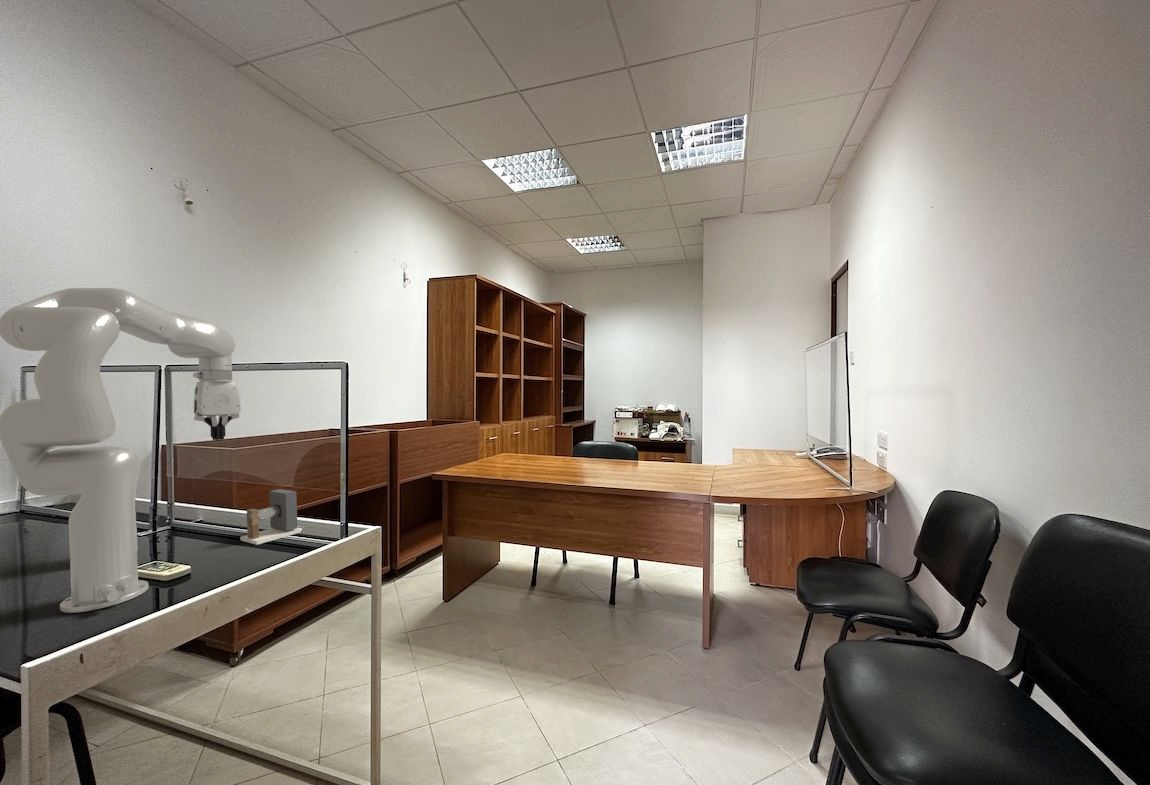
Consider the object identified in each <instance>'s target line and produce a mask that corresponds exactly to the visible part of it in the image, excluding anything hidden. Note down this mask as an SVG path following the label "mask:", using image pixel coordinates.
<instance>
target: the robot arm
mask: <svg viewBox="0 0 1150 785" xmlns="http://www.w3.org/2000/svg"><path fill="white" fill-rule="evenodd" d="M120 332H123V333H126V334H128V335H131V336H134V337H135V338H138V339H140V340H142V341H145V342H148V343H152V344H159V345H166V346H167V347H168V350H169V351H170V352H171V353H172V354H173V355H175V356H177V357H179V358H184V359H198V371H197V372H193V374H192V375H193V378H196V379H198V381H196V384H195V390H194V394H193V413H194V417H193V420H194V421H196V422H197V421H198V422H204V423H205V424H206V425H208V426H209V427H210V437H211V438H212V440H213V441H220V440H224V439H225V437H226V426H227V425H228V424H229V422H230V421H233V420H236V419H238V418H240V413H241V412H242V411H241V410H242V409H241V398H240V393H239V388H238V385H237V382H236V381H233V364H232V354H233V353H234V351H235V349H236V342H235V339H234V337H233V335H232V334H231V333H230V332H229V331H227V330H226V329H225V328H223V327H221V326H219V325H218V324H216V323H213V322H210V321H207V320H203V319H201V318H195V317H191V316H188V315H184V314H180V313H177V312H173V311H172V312H171V311H168V310H166V309H164V308H162V307H160V306H158V305H156V304H154V303H152V302H151V301H148V300H146V299H144V298H142V297H140V296H138V295H136V294H135V293H133V292H130V291H128V290H125V289H122V288H115V287H72V288H71V287H70V288H66V289H61V290H58V291H54V292H52V293H49V294H46V295H43V296H39V297H37V298H35V299H32V300H30V301H26V302H24V303H21V304H18V305H15V306H13V307H11V308H10V309H8V310H6V311H5V312H4V313H2V315H1V316H0V338H2V340H3V341H5V342H6V343H7V344H8V345H10V346H12V347H13V348H16V349H20V350H22V351H23V350H24V351H30V352H31V351H32V352H33V351H34V352H40V351H42V352H43V351H45V352H44V354H43V355H42V357H41V358H40V359H39V361H38V363H37V364H36V367H35V369H34V372H33V381H34V385H35V387H36V390H37V394H38V397H39V398H29V399H24V400H20V401H17V402H16V401H15V402H14V403H12V404H10V405H9V406H7V407H5V409H4V410H3V411H2V413H1V414H0V442H1V445H2V447H3V449H4V452H5V453H6V456H7V459H8V460H9V462H10V464H11V465H10V466H11V467H12V470H13V472H14V474H15V476H16V477H17V478H16V479H18V481H19V483H20V485H21V486H22V487H23V488H24V489H25V490H26V491H27V492H29V493H31V494H33V495H36V496H42V497H45V496H46V497H49V496H50V497H51V496H52V497H53V496H70V495H81V496H80V498H79V499H78V501H77V502H76V504H75V505H74V507H73V508H72V510H71V511H70V514H69V516H68V539H69V540H68V542H69V564H70V566H69V567H70V569H69V570H70V588H71V590H70V591H71V596H69V597H67V598H66V599H64V600H63V601H61V603H59V610H60V612H63V613H66V614H68V613H69V614H73V613H74V614H76V613H85V612H90V611H96V610H100V609H103V608H104V609H105V608H109V607H112V606H114V605H119V604H122V603H124V602H127V601H130V600H132V599H134V598H137V597H139V596H140V595H142V594H144V593H146V591H148V589H149V582H148V581H146V580H143V579H142V580H141V579H139V570H138V569H139V567H138V566H139V564H138V563H139V562H138V550H137V545H138V535H137V536H136V522H137V511H136V512H135V499H136V500H137V498H136V494H137V487H138V482H139V477H140V474H141V460H140V457H139V456H138V455H137V454H136V452H135V451H132V450H131V449H129V448H126V447H121V446H112V445H109V446H108V445H105V446H103V445H102V446H100V445H99V446H85V447H82V446H84V445H92V444H98V443H101V442H104V441H106V440H109V439H110V438H111V437H112V436H113V435H114V433H115V431H116V421H115V417H114V414H113V411H112V408H111V405H110V402H109V400H108V397H107V393H106V391H105V387H104V384H103V381H102V377H101V366H102V363H103V360H104V358H105V357H106V355H107V352H108V351H109V350H110V349H111V347H113V345H114V344H115V342H116V341H117V339H118V338H119V335H120ZM225 365H232V366H225ZM217 416H218V418H217ZM67 446H68V447H67ZM72 446H81V447H72ZM66 447H67V448H66Z"/></svg>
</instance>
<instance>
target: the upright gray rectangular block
mask: <svg viewBox="0 0 1150 785" xmlns="http://www.w3.org/2000/svg"><path fill="white" fill-rule="evenodd" d="M268 493H269V508H270V507H274V506H278V505H281V515H280V516H276V517H272V518H269V520H270V523H269V524H270V528H271V529H272V528H276V529H280V530H285V531H289V530H292V529H296V528H298V527H299V526H298V505H297V502H298V501H297V491H296V490H289V489H283V488H282V489H281V488H278V489H273V490H269V492H268Z"/></svg>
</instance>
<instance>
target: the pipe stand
mask: <svg viewBox="0 0 1150 785" xmlns="http://www.w3.org/2000/svg"><path fill="white" fill-rule="evenodd" d="M280 515H281V505H278V506H274V507H270V506H269V507H266V508H260V509H257V508H249V509H246V524H247V526H246V528H247V529H246V530H247V535H241V536H240V541H242V542H245V543H249V544H253V545H256V546H257V545H262V544H264V543H268V542H272V541H275V540H278V539H282V538H285V537H288V536H292V535H293V536H294V535H295V534H300V533H302V532H301V531H302V528H296V529H292V530H289V531H285V530H280V529H276V528H272V527H271V528H268V529H265V530H261V531H259V530H260V527H259V521H264V520H266V519H270V518H272V517H276V516H280Z"/></svg>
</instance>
